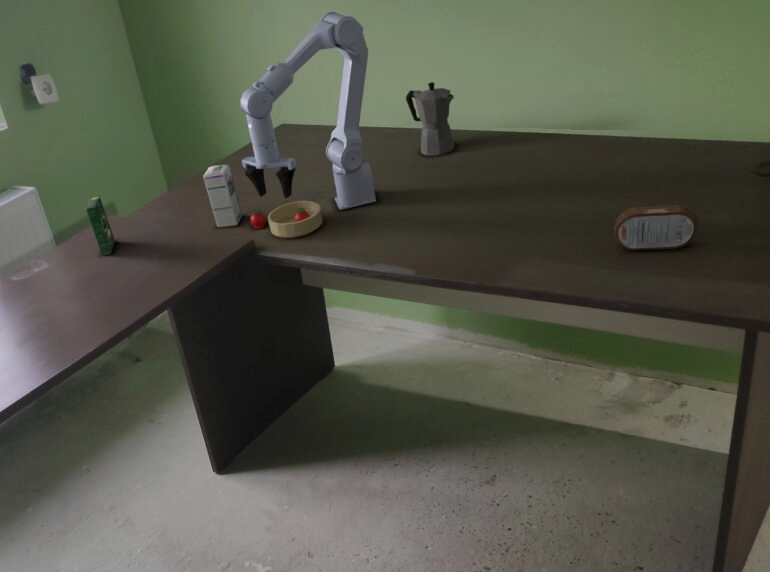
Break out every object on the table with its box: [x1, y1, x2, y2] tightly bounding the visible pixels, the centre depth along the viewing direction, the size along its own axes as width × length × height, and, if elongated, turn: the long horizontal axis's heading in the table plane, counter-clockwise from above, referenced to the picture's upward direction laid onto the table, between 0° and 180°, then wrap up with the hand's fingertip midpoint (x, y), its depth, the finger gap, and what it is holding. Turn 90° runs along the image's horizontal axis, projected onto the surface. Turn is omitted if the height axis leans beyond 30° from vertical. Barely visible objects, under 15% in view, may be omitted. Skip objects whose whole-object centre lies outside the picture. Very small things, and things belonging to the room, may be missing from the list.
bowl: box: [267, 200, 324, 239], centre depth 214 cm, size 13×13×4 cm
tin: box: [613, 205, 699, 251], centre depth 169 cm, size 15×3×8 cm, turn 71°
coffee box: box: [85, 195, 116, 256], centre depth 226 cm, size 8×3×13 cm, turn 0°
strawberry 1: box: [250, 209, 266, 230], centre depth 219 cm, size 4×4×4 cm
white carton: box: [202, 163, 243, 228], centre depth 223 cm, size 6×6×14 cm
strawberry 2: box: [295, 208, 310, 222], centre depth 213 cm, size 4×4×4 cm
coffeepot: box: [405, 81, 455, 157], centre depth 232 cm, size 15×9×18 cm, turn 44°
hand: (275, 195), depth 212 cm, fingers open, 7 cm apart
